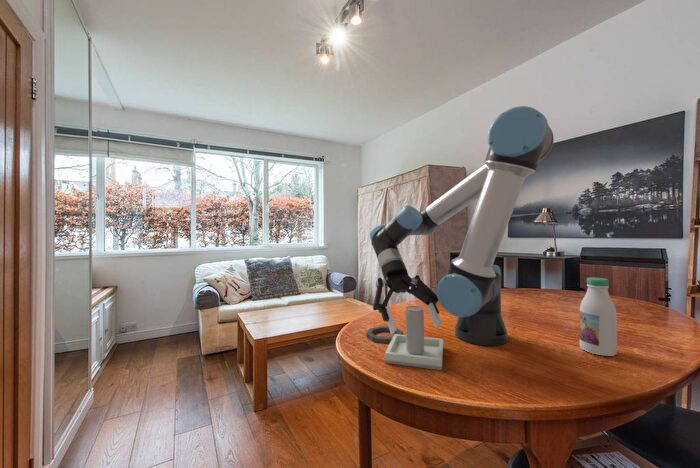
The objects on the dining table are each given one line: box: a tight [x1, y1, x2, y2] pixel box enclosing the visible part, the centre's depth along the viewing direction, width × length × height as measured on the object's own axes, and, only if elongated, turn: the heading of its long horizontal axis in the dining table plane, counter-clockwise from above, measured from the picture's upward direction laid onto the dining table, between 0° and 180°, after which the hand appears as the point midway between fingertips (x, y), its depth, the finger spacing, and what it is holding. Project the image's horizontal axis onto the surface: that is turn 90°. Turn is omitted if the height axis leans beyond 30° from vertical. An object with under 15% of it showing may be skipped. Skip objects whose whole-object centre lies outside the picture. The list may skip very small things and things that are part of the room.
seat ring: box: [365, 325, 404, 344], centre depth 93 cm, size 11×11×1 cm
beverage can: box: [405, 305, 425, 355], centre depth 79 cm, size 5×5×12 cm
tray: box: [384, 334, 444, 371], centre depth 79 cm, size 14×14×2 cm
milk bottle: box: [579, 276, 618, 355], centre depth 79 cm, size 8×8×20 cm
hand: (416, 328), depth 78 cm, fingers open, 13 cm apart
